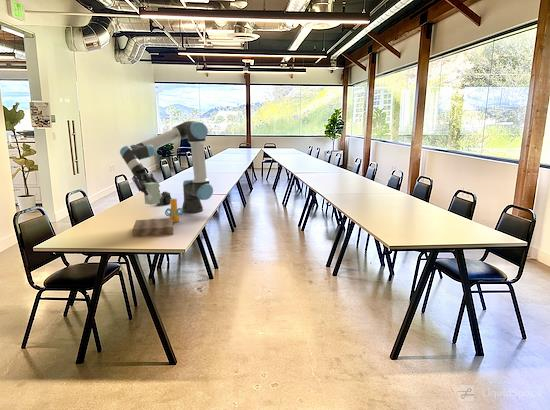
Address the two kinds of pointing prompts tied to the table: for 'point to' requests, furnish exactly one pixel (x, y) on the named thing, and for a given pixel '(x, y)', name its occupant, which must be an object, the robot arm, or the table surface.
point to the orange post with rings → (174, 210)
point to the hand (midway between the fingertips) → (156, 198)
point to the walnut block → (153, 227)
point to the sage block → (152, 193)
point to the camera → (165, 198)
